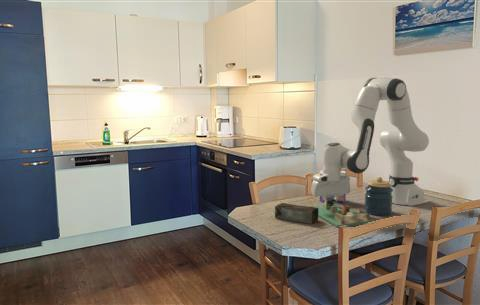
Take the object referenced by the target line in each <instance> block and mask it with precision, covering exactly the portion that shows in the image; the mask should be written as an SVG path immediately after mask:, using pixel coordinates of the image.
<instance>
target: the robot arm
mask: <svg viewBox="0 0 480 305" xmlns="http://www.w3.org/2000/svg"><path fill="white" fill-rule="evenodd" d="M380 101H386V106H387V115H388V121H389V123H390V124H391V125H392V126H394V127H396V128H397V129H395V128H394V129H393V128H392V129H384V130H383V131H382V132H381V133H380V135H379V143H380V145H381V147H382V148H383V149H384V150H385V151H386V152H387V155H388V157H389V160H390V163H389V164H390V168H389V169H390V170H389V171H390V173H389V176H388V182H389V183H390V184H391V185H392V186H391V188H392V189H393V191H392V196H393V198H392V204H395V205H403V206H404V205H405V206H410V207H411V206H417V205H423V204H428V203H430V202H429V201H430V200H429V199H427V198H425V191H424V190H423V188H421V187H420V186H419V185H417V183H415V182H418V181H419V177H417V176H413V172H414V171H413V168H414V163H413V161H412V160H411V159H410V158H409V157H408V156H407V155H406V154H405V152H414V153H416V152H424V151H425V150H426V149H427V148H428V147H429V143H430V140H429V136H428V135H427V133H426V132H424V131H423V130H421V129H420V128H419V126H417V124H416V123H415V121H414V118H413V117H414V116H413V113H412V107H411V106H412V105H411V100H410V96H409V92H408V89H407V85H406V82H405V81H404V80H402V79H400V78H394V77H371V78H369V79H367V80H366V82H365V83H364V85H363V87H362V88H361V89H360V91H359V93H358V95H357V96H356V99H355V101H354V105H353V106H352V112H351V120H352V122H353V124H354V125H356V127H357V129H358V131H359V132H358V137H357V138H358V139H357V143H356V147H355V150H354V149H351V148H348V147H345V146H344V145H342V144H341V143H340V142H331V143H326V145H325V146H324V148H323V153H322V163H323V167H322V172H320V171H319V173H316V174H314V175H312V179H313V181H312V182H311V187H310V189H311V190H310V193H311V195H312V196H314V197H319V196H322V197H323V199H324V201H323V202H324V205H325V204H329V201H328V200H327V199H326V198H327V195H334V196H335V197H334V199H335V200H336V202H337V199H338V197H339V194H346V195H347V194H349V193H350V192H351V183H350V180H351V178H350V176H349V175H348V174H346V175H341V171H342V169H346V170H348V171H350V172H352V173H353V174H357V175H358V174H359V175H360V174H362V173H364V172H365V171H366V170H367V169H368V168H369V165H370V151H371V147H372V142H373V138H374V134H375V118H376V114H377V112H378V109H379V103H380ZM337 203H338V202H337Z"/></svg>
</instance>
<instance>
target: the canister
mask: <svg viewBox="0 0 480 305" xmlns="http://www.w3.org/2000/svg"><path fill="white" fill-rule="evenodd" d="M366 184H367V186H365V187H364V189H365V194H364V206H363V208H364V209H363V210H364V211H365V212H367V213H369V215H373V216H382V217H384V216H390V215H391V214H392V211H393V207H392V206H393V203H392V198H393V196H392V191H393V189H392V188H391V186H392V185H391V184H390V183H389V181H387V180H383V178H382V177H380V176H378V177H377V178H376V179H372V180H370V181H368V182H367V183H366Z"/></svg>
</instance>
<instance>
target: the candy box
mask: <svg viewBox="0 0 480 305" xmlns="http://www.w3.org/2000/svg"><path fill="white" fill-rule="evenodd" d="M322 170H323V169H322ZM322 170H321V169H320V170H319V173H320V172H322ZM341 175H347V172H346V171H345V170H341ZM346 195H347V194H339V197H338V199H337V203H346ZM318 197H319V202H324V199H323V197H322V196H318ZM328 197H331V198H333V199H334V197H335V196H334V195H327V198H328Z"/></svg>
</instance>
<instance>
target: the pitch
mask: <svg viewBox="0 0 480 305" xmlns="http://www.w3.org/2000/svg"><path fill="white" fill-rule="evenodd" d="M309 207H315V208H318V209H319V211H318V219H321V220H323V221H325V222H326V223H328V224H329V225H331V226H333V227H335V228H340V227H339V226H342V225H348V226H347V227H353V226H361V224H363V225H366V224H365V223H368V222H372V221H375V222H376V220H374V219H373V218H371V217H369V221H367V222H358V223H349V224H341V223H339V222H337V221H335V213H339V214H342V209H340V208H338V207H336V206H329V205H327V204H325V203H324V205H323V204H322V205H314V206H313V205H312V206H311V205H310V206H309ZM350 212H352V213H353V214H354V215H355V214H359V212H357V211H355V210H353V209H351V208H350Z"/></svg>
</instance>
